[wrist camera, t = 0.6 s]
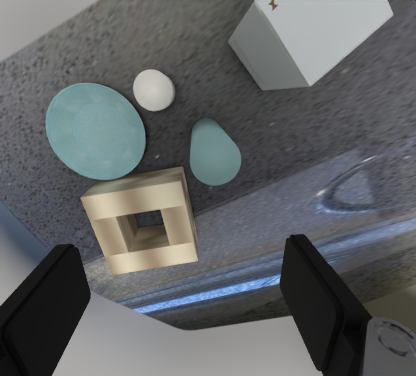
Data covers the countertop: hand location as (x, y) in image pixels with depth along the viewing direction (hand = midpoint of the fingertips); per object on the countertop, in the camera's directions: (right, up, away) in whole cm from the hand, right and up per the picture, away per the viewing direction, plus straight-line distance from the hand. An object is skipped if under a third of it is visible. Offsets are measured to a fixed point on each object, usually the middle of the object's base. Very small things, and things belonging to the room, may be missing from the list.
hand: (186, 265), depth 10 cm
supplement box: (+8, +21, +17) cm, 28 cm away
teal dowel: (+1, +11, +20) cm, 23 cm away
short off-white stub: (-5, +16, +18) cm, 24 cm away
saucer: (-13, +11, +20) cm, 26 cm away
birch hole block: (-8, 0, +24) cm, 25 cm away
